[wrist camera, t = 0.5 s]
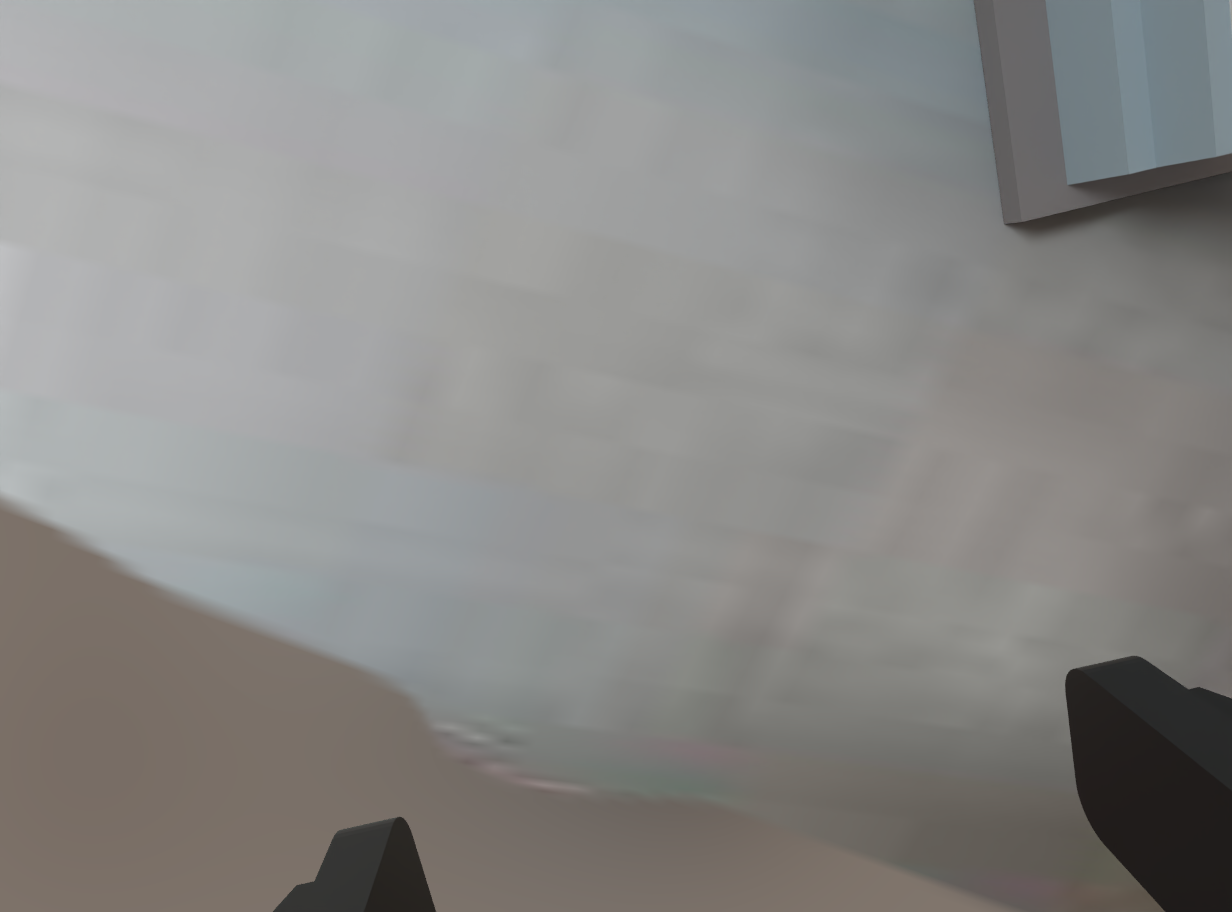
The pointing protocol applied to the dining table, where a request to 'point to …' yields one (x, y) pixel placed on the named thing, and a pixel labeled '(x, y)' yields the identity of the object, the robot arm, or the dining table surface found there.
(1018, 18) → the fulcrum ridge
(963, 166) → the dining table surface
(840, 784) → the dining table surface
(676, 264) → the dining table surface
